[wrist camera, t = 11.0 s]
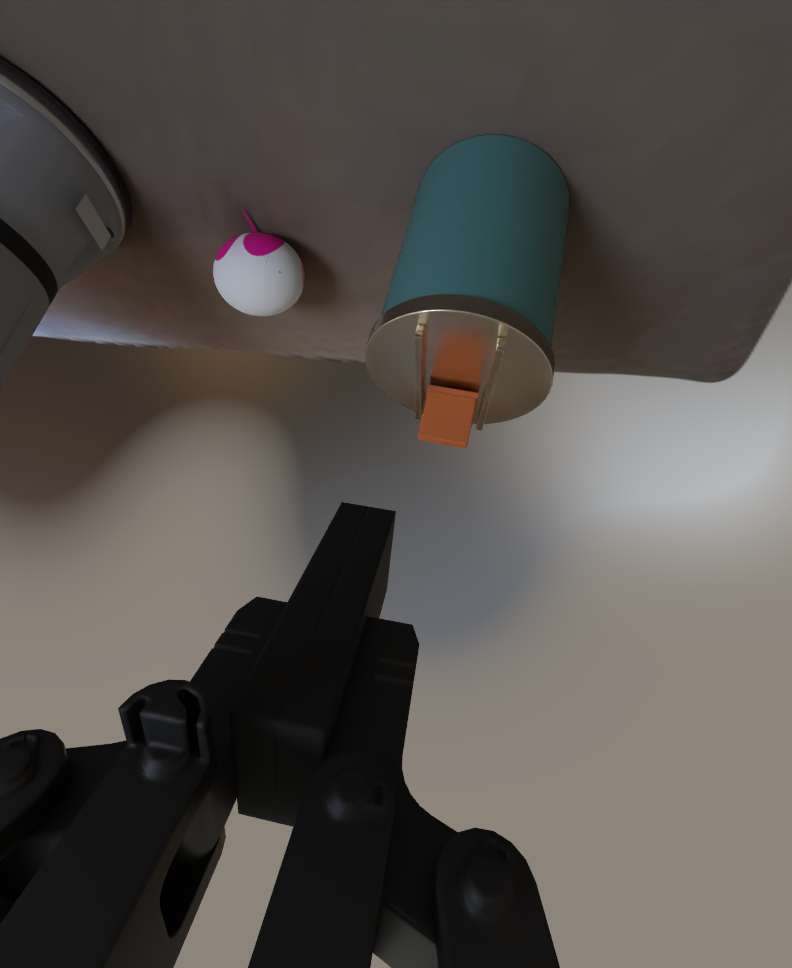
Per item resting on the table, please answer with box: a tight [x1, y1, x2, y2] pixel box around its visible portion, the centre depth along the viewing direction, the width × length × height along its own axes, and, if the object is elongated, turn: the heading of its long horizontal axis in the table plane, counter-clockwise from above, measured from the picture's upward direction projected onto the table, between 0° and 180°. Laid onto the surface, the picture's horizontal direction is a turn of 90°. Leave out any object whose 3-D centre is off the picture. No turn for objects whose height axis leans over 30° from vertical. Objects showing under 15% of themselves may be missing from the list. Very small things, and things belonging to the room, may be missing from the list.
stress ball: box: [212, 206, 305, 316], centre depth 37 cm, size 8×8×7 cm
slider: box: [418, 385, 479, 448], centre depth 28 cm, size 4×3×3 cm
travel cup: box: [365, 135, 570, 430], centre depth 29 cm, size 11×11×14 cm
